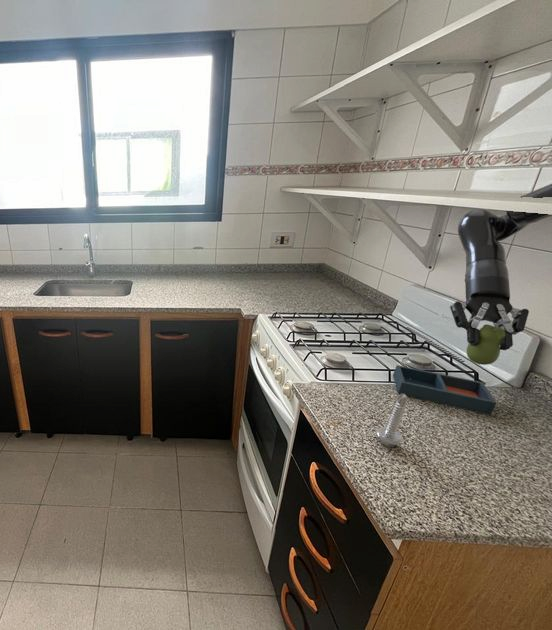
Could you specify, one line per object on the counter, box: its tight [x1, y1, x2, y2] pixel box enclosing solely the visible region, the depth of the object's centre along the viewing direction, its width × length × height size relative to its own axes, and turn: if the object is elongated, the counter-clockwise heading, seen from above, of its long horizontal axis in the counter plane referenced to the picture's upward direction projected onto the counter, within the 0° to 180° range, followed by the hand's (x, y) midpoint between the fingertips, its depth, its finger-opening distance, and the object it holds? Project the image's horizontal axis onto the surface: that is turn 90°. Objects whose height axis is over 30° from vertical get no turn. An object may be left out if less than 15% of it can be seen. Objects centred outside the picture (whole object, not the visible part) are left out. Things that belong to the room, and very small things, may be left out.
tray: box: [392, 364, 498, 416], centre depth 90 cm, size 18×10×4 cm, turn 62°
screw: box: [374, 394, 408, 448], centre depth 73 cm, size 13×5×5 cm
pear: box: [466, 323, 505, 366], centre depth 81 cm, size 6×5×10 cm
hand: (489, 346), depth 80 cm, fingers closed on pear, 5 cm apart
